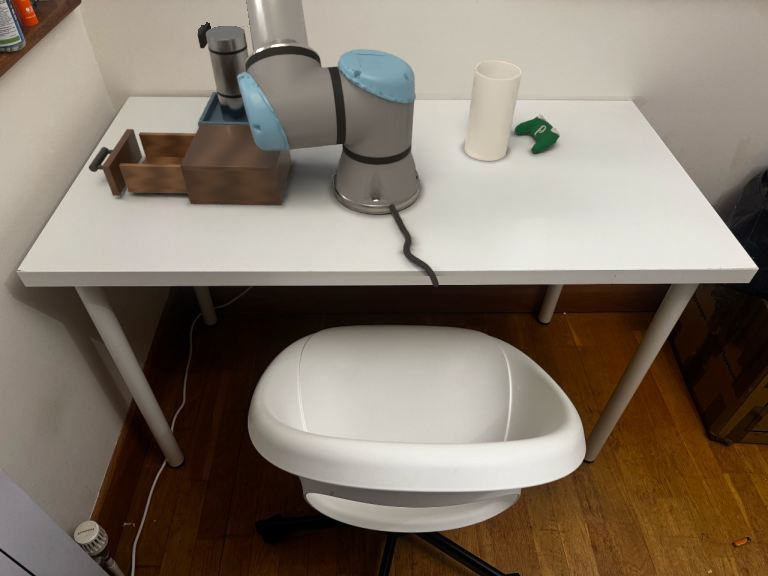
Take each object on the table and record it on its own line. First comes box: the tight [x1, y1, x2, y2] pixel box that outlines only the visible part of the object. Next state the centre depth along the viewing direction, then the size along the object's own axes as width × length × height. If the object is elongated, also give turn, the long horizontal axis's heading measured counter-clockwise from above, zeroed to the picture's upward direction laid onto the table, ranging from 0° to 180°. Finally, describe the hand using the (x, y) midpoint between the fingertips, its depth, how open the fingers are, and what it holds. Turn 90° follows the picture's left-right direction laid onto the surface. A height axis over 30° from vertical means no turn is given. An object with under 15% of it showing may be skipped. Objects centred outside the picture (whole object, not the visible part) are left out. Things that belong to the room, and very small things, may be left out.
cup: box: [464, 60, 522, 162], centre depth 105 cm, size 8×8×16 cm
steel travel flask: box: [206, 26, 249, 122], centre depth 112 cm, size 7×7×17 cm
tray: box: [197, 91, 249, 128], centre depth 117 cm, size 14×14×2 cm
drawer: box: [88, 128, 196, 197], centre depth 99 cm, size 19×12×6 cm, turn 90°
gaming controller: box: [514, 113, 560, 154], centre depth 113 cm, size 9×4×6 cm
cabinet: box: [180, 124, 292, 206], centre depth 99 cm, size 16×14×8 cm
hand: (234, 42), depth 112 cm, fingers open, 13 cm apart
